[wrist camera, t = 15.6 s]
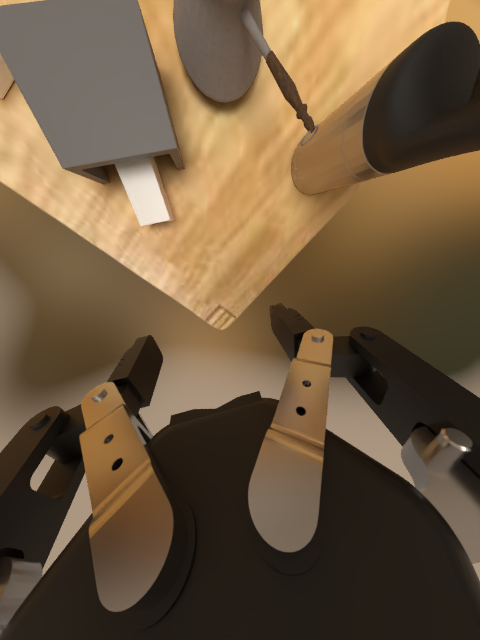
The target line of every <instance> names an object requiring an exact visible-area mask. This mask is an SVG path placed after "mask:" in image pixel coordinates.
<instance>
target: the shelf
mask: <svg viewBox="0 0 480 640" xmlns="http://www.w3.org/2000/svg"><path fill="white" fill-rule="evenodd" d="M0 54H1V56H2V58H3V59H4V61H5V63H6V65H7V67H8V69H9V70H10V72H11V74H12V76H13V78H14V80H15V82H16V83H17V85H18V87H19V89H20V91H21V93H22V94H23V96H24V98H25V100H26V102H27V104H28V105H29V107H30V109H31V111H32V113H33V115H34V116H35V118H36V120H37V122H38V124H39V126H40V128H41V129H42V131H43V133H44V135H45V137H46V139H47V140H48V142H49V144H50V146H51V148H52V150H53V151H54V153H55V155H56V157H57V159H58V161H59V163H60V164H61V166H62V168H63V169H65V170H68V171H71V172H73V173H76V174H78V175H81V176H83V177H86V178H89V179H91V180H94V181H96V182H99V183H101V184H105V183H110V182H109V179H108V177H107V175H106V173H105V171H104V168H103V166H105V165H110V164H116V163H121V162H127V161H132V160H138V159H143V158H149V157H154V156H160V155H165V154H170V155H171V157H172V159H173V161H174V163H175V165H176V167H177V169H178V170H180V169H185V168H184V164H183V161H182V157H181V153H180V149H179V145H178V142H177V138H176V134H175V130H174V127H173V123H172V119H171V115H170V111H169V108H168V104H167V100H166V96H165V92H164V89H163V85H162V81H161V77H160V73H159V70H158V66H157V63H156V60H155V56H154V53H153V50H152V46H151V43H150V40H149V36H148V33H147V30H146V26H145V23H144V20H143V16H142V13H141V10H140V6H139V3H138V0H45V1H36V2H28V3H20V4H12V5H3V6H0Z"/></svg>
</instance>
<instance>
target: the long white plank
mask: <svg viewBox="0 0 480 640" xmlns="http://www.w3.org/2000/svg"><path fill="white" fill-rule="evenodd" d="M115 166H116V169H117V171H118V174H119V176H120V178H121V181H122V183H123V185H124V188H125V190H126V192H127V195H128V197H129V200H130V202H131V204H132V207H133V209H134V211H135V214H136V216H137V218H138V221H139V223H140V225H141V226H151V225H153V224H155V223H160V222H164V221H174V217H173V214H172V211H171V208H170V205H169V202H168V199H167V196H166V193H165V190H164V187H163V184H162V181H161V177H160V174H159V171H158V168H157V165H156V162H155V159H154V157H149V158H143V159H138V160H132V161H127V162H121V163H116V164H115Z"/></svg>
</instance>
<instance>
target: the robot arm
mask: <svg viewBox="0 0 480 640" xmlns="http://www.w3.org/2000/svg"><path fill="white" fill-rule="evenodd" d="M318 126H319V127H318V130H317V132H316V134H315V135H314V136H313V138H312V139H311V140H310V141H309V142H308V143H307V144H305V145H304V146H301V142H300V143H299V144H298V146H297V148H296V150H295V153H294V155H293V159H292V168H291V171H292V178H293V181H294V184H295V186H296V187H297V188H298V190H299V191H301V192H302V193H304V194H307V195H313V194H317V193H321V192H325V191H328V190H332V189H336V188H340V187H343V186H347V185H351V184H354V183H358V182H362V181H366V180H369V179H372V178H376V177H380V176H383V175H387V174H390V173H395V172H398V171H401V170H405V169H408V168H412V167H415V166H418V165H422V164H425V163H429V162H432V161H436V160H439V159H443V158H447V157H451V156H456V155H460V154H464V153H468V152H473V151H478V150H480V44H479V41H478V39H477V36H476V34H475V33H474V31H473V30H472V29H471V28H470V27H469V26H467V25H466V24H464V23H461V22H447V23H444V24H441V25H439V26H437V27H435V28H433V29H431V30H429V31H427V32H426V33H424V34H423V35H422V36H421V37H419V38H418V39H417V40H416V41H414V42H413V43H412V44H411V45H410V46H409V47H407V48H406V49H405V50H404V51H403V52H402V53H401V54H399V55H398V56H397V57H396V58H395V59H394V60H392V61H391V62H390V63H389V64H388V65H387V66H386V67H384V68H383V69H382V70H381V71H380V72H379V73H378V74H376V75H375V76H374V77H373V78H372V79H371V80H370V81H369V82H367V83H366V84H365V85H364V86H363V87H362V88H361V89H359V90H358V91H357V92H356V93H355V94H354V95H352V96H351V97H350V98H349V99H348V100H347V101H346V102H344V103H343V104H342V105H341V106H340V107H339V108H338V109H336V110H335V111H334V112H333V113H332V114H331V115H329V116H328V117H327V118H326V119H325V120H324V121H323V122H321V123H320V124H319V125H318ZM316 129H317V128H315V130H314V131H313V132H312V133H309V134H308V135H307V136H306V138H305V139H304V141H303V142H302V144H304V143H305V142H306V141H308V139H309V138H310V137H311V136H312V135H313V134H314V132H315V131H316ZM301 141H302V140H301ZM270 317H271V327H272V330H273V333H274V335H275V336H276V338H277V339H278V341H279V343H280V344H281V346H282V347H283V349H284V351H285V352H286V354H287V355H288V357H289V359H290V360H291V362H292V363H291V366H290V369H289V372H288V375H287V378H286V382H285V385H284V388H283V391H282V394H281V397H280V400H276V399H271V398H261V395H260V392H259V391H258V392H254V393H251V394H247V395H243V396H240V397H237V398H235V399H233V400H232V401H230V402H228V403H226V404H224V405H222V406H221V407H219V408H216V409H193V410H190V411H186V412H182V413H179V414H175V415H171V420H170V424H169V425H167V426H166V427H164V428H163V429H161V430H160V431H159V432H158V433H156V435H154V436H153V435H152V433H151V432H150V430H149V428H148V427H147V425H146V423H145V421H144V420H143V418H142V417H141V415H140V414H139V413H138V412H139V409H140V408H143V407H146V406H149V405H150V402H151V399H152V395H153V392H154V389H155V386H156V382H157V379H158V376H159V372H160V369H161V366H162V363H163V356H162V353H161V351H160V349H159V347H158V346H157V344H156V342H155V340H154V338H153V337H152V336H151V335H148V336H144V337H140V338H138V339H137V340H136V341H135V343H134V345H133V346H132V347H131V348H130V349H129V350H128V351H127V352H126V353H125V354H124V355H123V357H122V359H121V361H120V362H119V363H118V366H116V368H115V370H114V372H113V373H112V374H111V376H110V378H109V379H108V381H107V382H106V383H103V384H101V385H99V386H97V387H95V388H94V389H92V390H91V391H90V392H89V393H88V394H87V395H86V396H85V397H84V398H83V400H82V402H81V404H80V405H78V406H76V407H74V408H72V409H70V410H68V411H66V412H65V411H64V410H63V409H61V408H60V407H58V406H54V407H50V408H48V409H46V410H44V411H42V412H40V413H38V414H37V415H35V416H34V417H33V418H31V419H30V420H29V421H28V422H27V423H26V424H25V425H24V426H23V427H22V428H21V429H20V430H19V432H18V433H17V434H16V435H15V436H14V438H13V439H12V440H11V441H10V442H9V443H8V445H7V446H6V447H5V448H4V449H3V450H2V452H1V453H0V640H480V581H479V579H478V576H477V574H476V572H475V570H474V567H473V565H472V564H474V563H478V562H480V398H479V397H477V396H476V395H474V394H473V393H471V392H470V391H468V390H467V389H465V388H464V387H462V386H461V385H459V384H458V383H456V382H455V381H453V380H452V379H451V378H449V377H448V376H446V375H445V374H443V373H442V372H440V371H439V370H437V369H436V368H434V367H433V366H431V365H430V364H428V363H427V362H425V361H424V360H422V359H421V358H419V357H418V356H416V355H415V354H413V353H412V352H410V351H409V350H407V349H406V348H405V347H403V346H402V345H400V344H398V343H397V342H395V341H394V340H393V339H391V338H390V337H388V336H387V335H385V334H384V333H382V332H381V331H379V330H377V329H374V328H370V327H356V328H354V329H352V330H351V332H350V336H339V337H333V336H332V334H331V333H329V332H328V331H325V330H321V329H315V328H314V327H313V326H312V325H311V324H310V323H309V322H308V321H307V320H305V319H304V317H302V316H301V315H300V314H299V313H298V312H297V311H296V310H293V309H291V308H289V309H286V308H285V307H284V306H283V305H282V304H281V303H279V304H275V305H272V306H270ZM377 370H378V371H379V372H380V373H381V374H382V375H383V376H384V377H385V378H384V377H383V376H382V375H381V374H380V373H379V372H378V371H377ZM330 377H346V378H347V380H348V381H349V382H350V383H351V385H352V386H353V387H354V388H355V389H356V391H357V392H358V393H359V394H360V395H361V397H362V398H363V399H364V400H365V402H366V403H367V404H368V405H369V406H370V408H371V409H372V410H373V411H374V412H375V413H376V415H377V416H378V417H379V419H380V420H381V421H382V422H383V423H384V425H385V426H386V427H387V428H388V429H389V431H390V432H391V433H392V434H393V435H394V437H395V438H396V439H397V440H398V442H399V443H400V444H401V445H402V446H403V447H402V449H401V458H402V460H403V463H404V465H405V467H406V468H407V470H408V472H409V473H410V475H411V477H412V479H413V481H414V484H415V487H414V486H413V485H412V484H410V483H409V482H408V481H406V480H405V479H404V478H402V477H401V476H399V475H398V474H396V473H395V472H393V471H391V470H390V469H388V468H387V467H385V466H383V465H382V464H381V463H379V462H377V461H376V460H374V459H373V458H371V457H369V456H368V455H366V454H365V453H363V452H362V451H360V450H359V449H357V448H356V447H354V446H352V445H351V444H349V443H348V442H346V441H345V440H343V439H341V438H340V437H338V436H337V435H335V434H333V433H332V432H331V431H329V430H327V429H326V418H327V407H328V396H329V385H330ZM45 454H46V455H48V456H50V457H52V458H53V459H55V461H54V463H53V464H52V466H51V468H50V470H49V471H48V473H47V475H46V476H45V478H44V480H43V481H42V483H41V485H40V486H39V488H38V490H37V492H36V491H34V490H32V489H31V487H30V480H31V477H32V475H33V473H34V471H35V470H36V468H37V467H38V465H39V464H40V462H41V461H42V459H43V458H44V456H45ZM85 472H86V477H87V483H88V488H89V494H90V500H91V505H92V511H93V513H92V514H91V515H90V516H89V518H88V519H87V520H86V522H85V523H84V524H83V525H82V527H81V528H80V529H79V531H78V532H77V533H76V534H75V536H74V537H73V538H72V540H71V541H70V542H69V543H68V545H67V546H66V547H65V549H64V550H63V551H62V552H61V554H60V555H59V556H58V558H57V559H56V560H55V561H54V563H53V564H52V565H51V566H50V568H49V569H48V570H47V572H46V573H45V574H44V575H43V577H42V569H43V567H44V565H45V563H46V560H47V558H48V556H49V553H50V551H51V549H52V547H53V544H54V542H55V540H56V537H57V535H58V533H59V531H60V528H61V526H62V524H63V521H64V519H65V517H66V514H67V512H68V510H69V508H70V506H71V503H72V501H73V499H74V496H75V493H76V492H77V490H78V487H79V485H80V483H81V480H82V478H83V476H84V473H85Z"/></svg>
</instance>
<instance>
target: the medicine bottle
mask: <svg viewBox="0 0 480 640" xmlns="http://www.w3.org/2000/svg"><path fill="white" fill-rule="evenodd" d="M13 81H14V78H13V76H12V74H11V72H10V70H9V69H8V67H7V65H6V63H5V61H4V59H3V58H2V56H1V54H0V98H1V99H3V98H4V96H5V95H6V93H7V91H8V90H9V88H10V86H11V85H12V83H13Z"/></svg>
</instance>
